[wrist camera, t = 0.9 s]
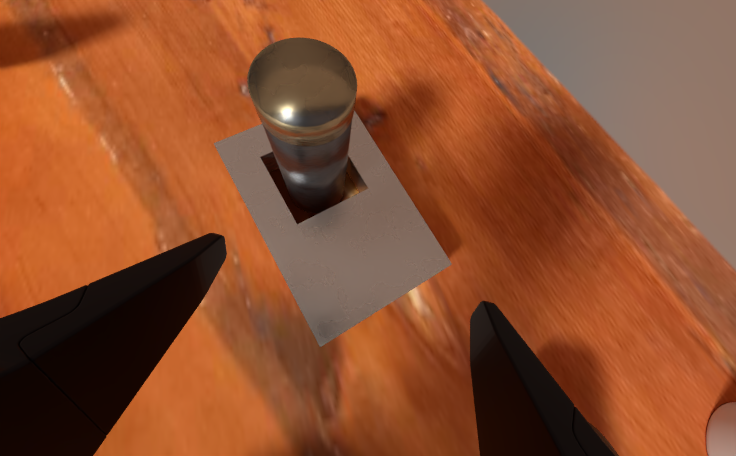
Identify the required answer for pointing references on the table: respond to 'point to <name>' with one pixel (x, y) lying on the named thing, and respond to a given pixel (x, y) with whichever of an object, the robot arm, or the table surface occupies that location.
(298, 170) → the end plug
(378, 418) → the table surface
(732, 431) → the white paper cup
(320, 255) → the housing block
